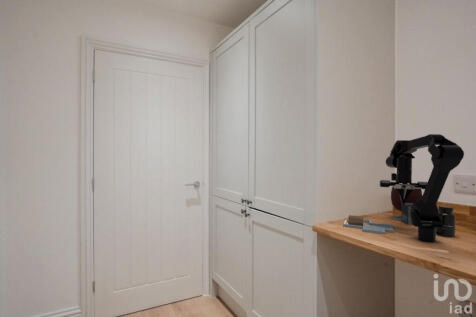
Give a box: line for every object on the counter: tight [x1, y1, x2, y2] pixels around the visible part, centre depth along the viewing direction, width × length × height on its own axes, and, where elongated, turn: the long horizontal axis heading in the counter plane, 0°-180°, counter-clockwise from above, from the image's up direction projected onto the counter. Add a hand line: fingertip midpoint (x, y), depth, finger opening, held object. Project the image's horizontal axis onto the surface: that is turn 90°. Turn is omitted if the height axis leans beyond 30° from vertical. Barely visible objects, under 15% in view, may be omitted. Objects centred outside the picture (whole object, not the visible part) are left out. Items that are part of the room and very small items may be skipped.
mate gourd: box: [390, 186, 423, 222], centre depth 141 cm, size 16×14×20 cm
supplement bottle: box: [436, 205, 457, 238], centre depth 115 cm, size 7×7×12 cm
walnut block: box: [347, 214, 364, 226], centre depth 125 cm, size 5×6×4 cm
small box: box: [400, 203, 431, 226], centre depth 129 cm, size 11×6×10 cm, turn 84°
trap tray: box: [342, 219, 395, 235], centre depth 122 cm, size 20×19×2 cm
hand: (403, 204), depth 119 cm, fingers closed
